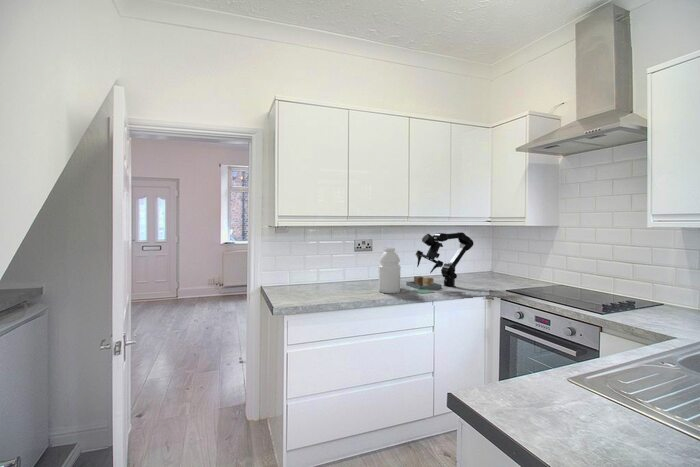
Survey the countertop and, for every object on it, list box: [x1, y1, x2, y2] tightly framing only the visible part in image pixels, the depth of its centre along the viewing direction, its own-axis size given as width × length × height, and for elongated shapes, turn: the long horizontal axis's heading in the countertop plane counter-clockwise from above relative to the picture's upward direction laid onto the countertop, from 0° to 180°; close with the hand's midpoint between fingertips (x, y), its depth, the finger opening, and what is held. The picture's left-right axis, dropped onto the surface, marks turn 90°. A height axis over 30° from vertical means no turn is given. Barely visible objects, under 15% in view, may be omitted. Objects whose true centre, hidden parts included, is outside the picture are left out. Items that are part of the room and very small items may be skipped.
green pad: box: [412, 289, 436, 295], centre depth 212 cm, size 10×10×1 cm
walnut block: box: [413, 275, 424, 286], centre depth 234 cm, size 5×5×6 cm
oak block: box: [422, 276, 435, 286], centre depth 223 cm, size 5×5×7 cm
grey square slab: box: [406, 280, 443, 290], centre depth 229 cm, size 16×18×3 cm
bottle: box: [378, 247, 401, 294], centre depth 215 cm, size 14×14×28 cm
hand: (423, 270), depth 223 cm, fingers open, 9 cm apart
